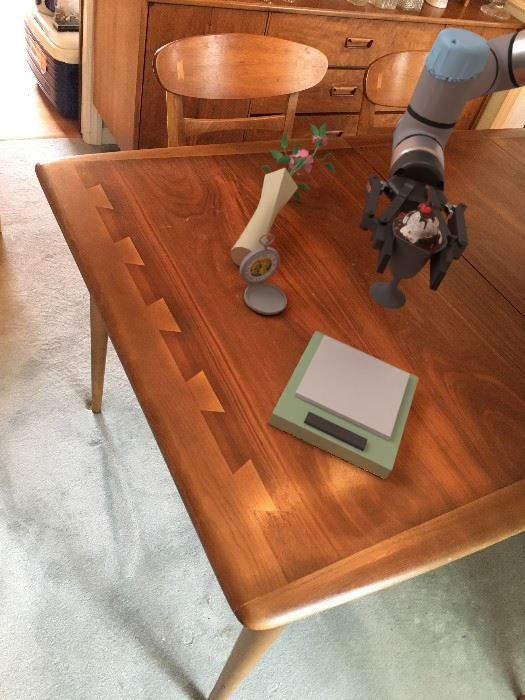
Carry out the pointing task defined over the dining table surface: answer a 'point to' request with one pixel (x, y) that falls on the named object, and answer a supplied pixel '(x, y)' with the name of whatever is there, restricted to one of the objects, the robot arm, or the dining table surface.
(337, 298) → the dining table surface
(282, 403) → the scale
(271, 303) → the pocket watch
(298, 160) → the flower vase
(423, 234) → the sundae
